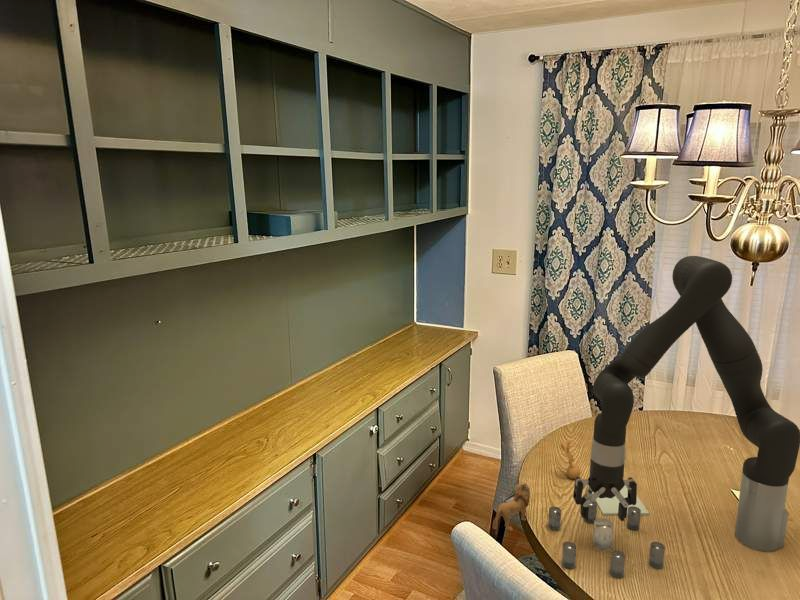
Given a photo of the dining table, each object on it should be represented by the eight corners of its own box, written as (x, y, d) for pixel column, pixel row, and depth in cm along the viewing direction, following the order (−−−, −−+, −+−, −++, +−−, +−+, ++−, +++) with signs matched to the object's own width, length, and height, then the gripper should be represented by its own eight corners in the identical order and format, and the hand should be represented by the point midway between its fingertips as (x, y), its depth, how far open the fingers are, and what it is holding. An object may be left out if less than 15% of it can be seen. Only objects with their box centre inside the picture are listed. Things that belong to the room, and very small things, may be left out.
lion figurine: (516, 506, 151) (517, 476, 149) (534, 513, 147) (535, 483, 145) (487, 532, 140) (487, 500, 138) (505, 541, 136) (506, 508, 134)
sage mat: (629, 486, 159) (629, 484, 158) (648, 515, 145) (649, 513, 145) (587, 486, 159) (587, 484, 159) (603, 515, 145) (603, 513, 145)
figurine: (581, 485, 159) (583, 448, 157) (560, 483, 161) (561, 446, 158) (578, 471, 167) (580, 435, 165) (558, 469, 169) (559, 433, 166)
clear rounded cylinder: (608, 539, 136) (609, 517, 135) (614, 551, 132) (616, 529, 130) (590, 539, 136) (591, 517, 135) (596, 551, 132) (597, 529, 131)
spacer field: (632, 516, 145) (633, 499, 144) (671, 578, 122) (673, 559, 121) (544, 516, 146) (545, 499, 145) (567, 578, 123) (568, 558, 122)
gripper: (632, 449, 132) (627, 509, 136) (572, 449, 133) (569, 509, 136) (644, 465, 125) (638, 528, 128) (581, 465, 125) (577, 527, 129)
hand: (602, 518), depth 132 cm, fingers open, 8 cm apart
